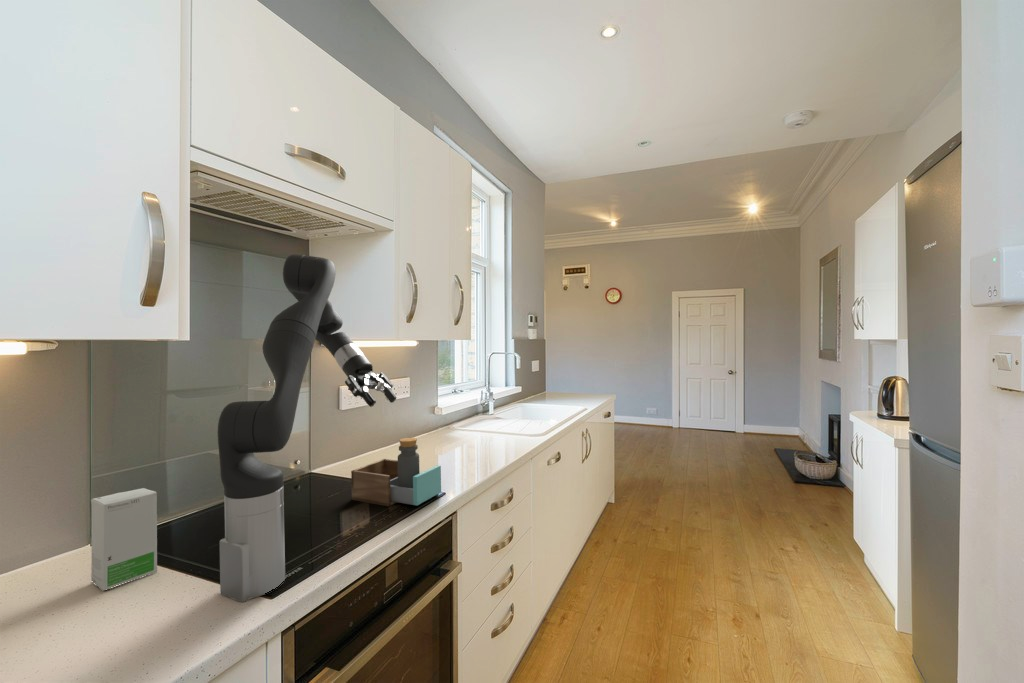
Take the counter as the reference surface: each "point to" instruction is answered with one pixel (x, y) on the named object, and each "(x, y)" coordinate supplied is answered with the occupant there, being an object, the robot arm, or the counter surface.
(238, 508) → the robot arm
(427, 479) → the teal drawer
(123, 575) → the skincare box
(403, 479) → the bottle
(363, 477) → the housing
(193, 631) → the counter surface
